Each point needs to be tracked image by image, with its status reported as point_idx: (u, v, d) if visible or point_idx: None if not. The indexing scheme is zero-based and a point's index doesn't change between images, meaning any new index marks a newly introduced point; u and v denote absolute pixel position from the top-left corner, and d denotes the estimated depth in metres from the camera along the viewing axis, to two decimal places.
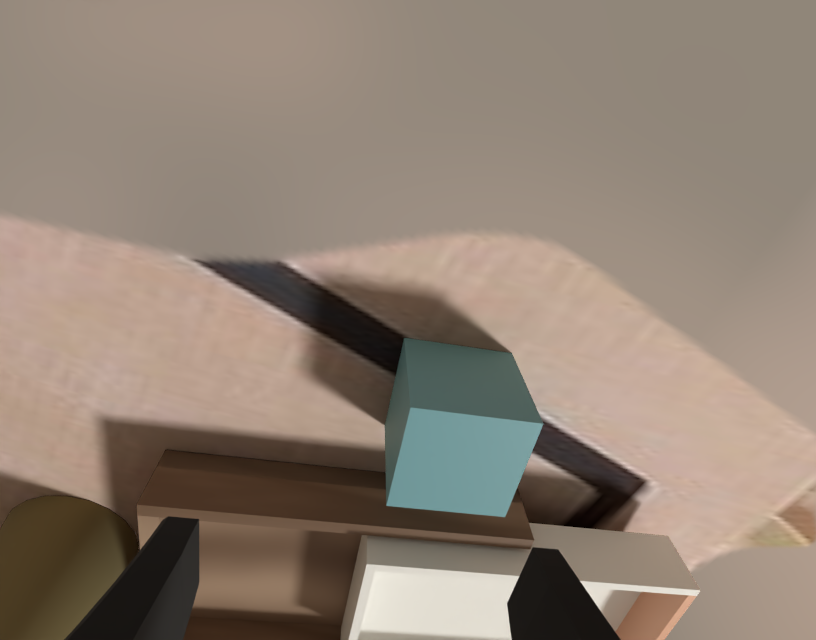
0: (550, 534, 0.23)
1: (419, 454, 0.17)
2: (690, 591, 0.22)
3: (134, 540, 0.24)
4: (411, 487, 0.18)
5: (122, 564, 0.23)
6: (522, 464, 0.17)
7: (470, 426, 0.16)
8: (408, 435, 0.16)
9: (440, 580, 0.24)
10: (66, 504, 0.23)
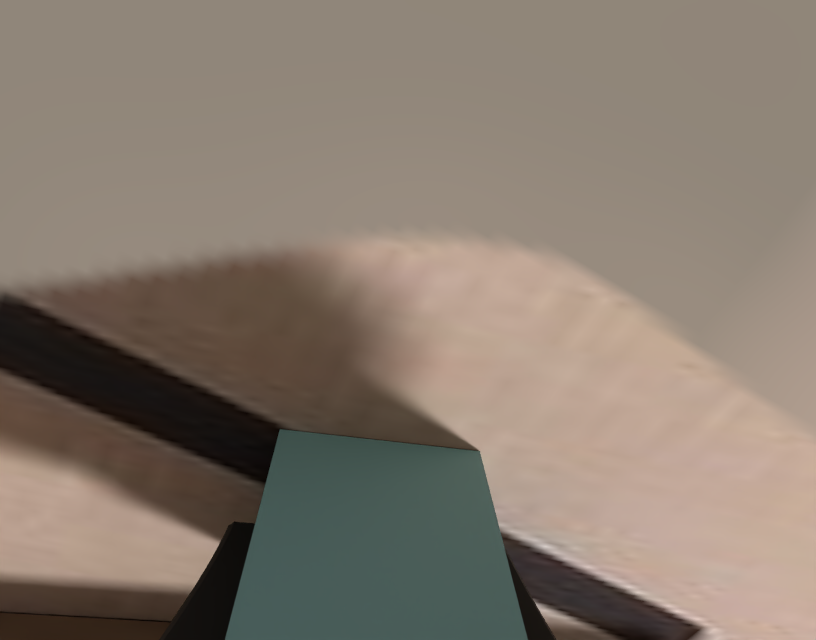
0: None
1: None
2: None
3: None
4: None
5: None
6: None
7: None
8: None
9: None
10: None
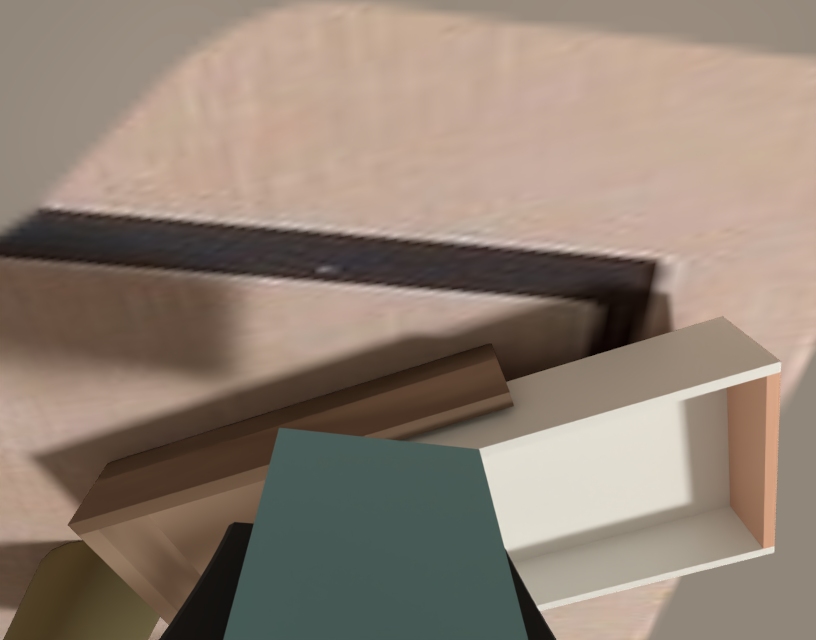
0: (547, 379, 0.17)
1: None
2: (766, 369, 0.15)
3: None
4: None
5: None
6: None
7: None
8: None
9: None
10: (67, 551, 0.22)
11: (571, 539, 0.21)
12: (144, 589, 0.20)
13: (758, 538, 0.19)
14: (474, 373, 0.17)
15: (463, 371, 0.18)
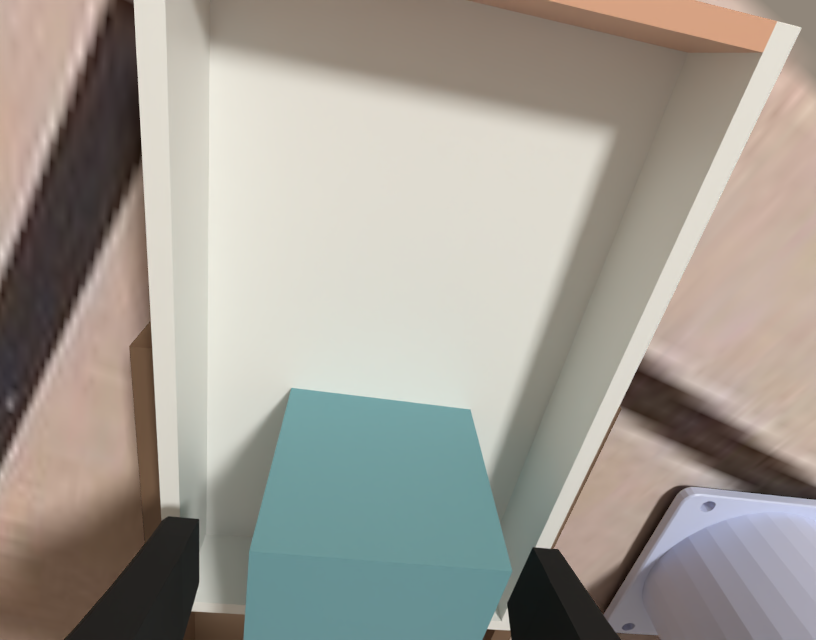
0: None
1: (283, 623, 0.09)
2: None
3: None
4: None
5: None
6: (477, 633, 0.10)
7: (374, 579, 0.09)
8: (255, 595, 0.09)
9: None
10: None
11: (547, 351, 0.12)
12: None
13: (734, 49, 0.07)
14: None
15: None
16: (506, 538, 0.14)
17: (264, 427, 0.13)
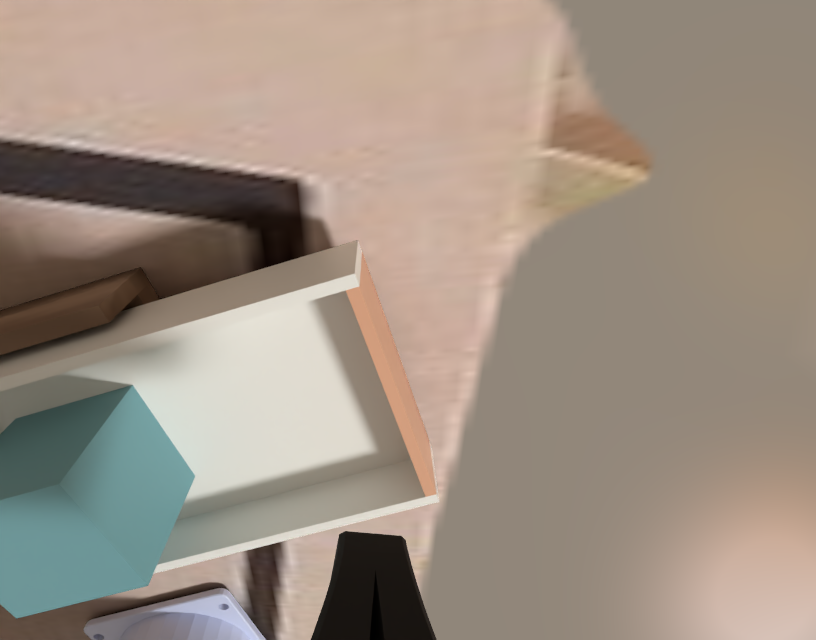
0: (171, 301, 0.16)
1: (10, 519, 0.14)
2: (343, 282, 0.14)
3: None
4: None
5: None
6: (90, 596, 0.15)
7: (88, 540, 0.14)
8: (24, 499, 0.13)
9: None
10: None
11: (258, 488, 0.20)
12: None
13: None
14: (95, 292, 0.16)
15: (90, 291, 0.16)
16: None
17: (88, 382, 0.17)
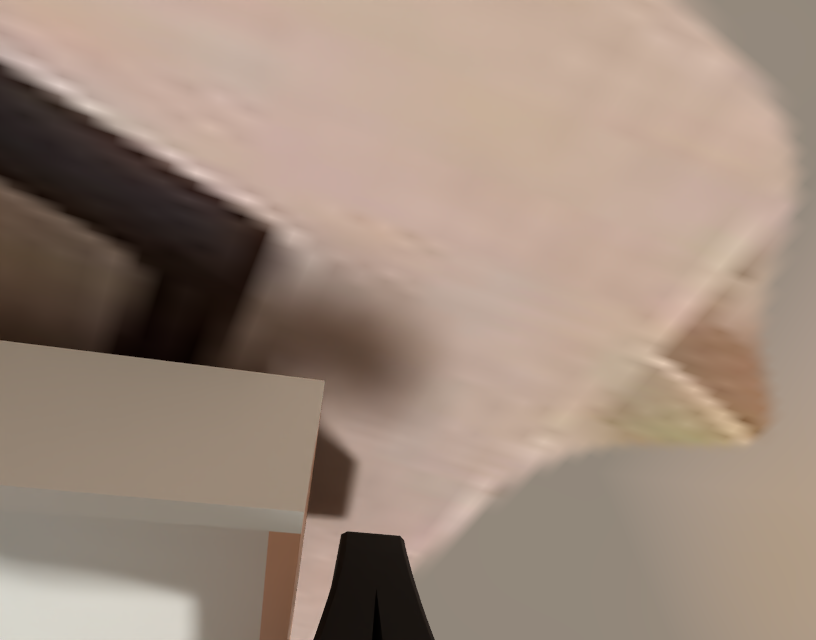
0: None
1: None
2: (272, 516, 0.06)
3: None
4: None
5: None
6: None
7: None
8: None
9: None
10: None
11: None
12: None
13: None
14: None
15: None
16: None
17: None
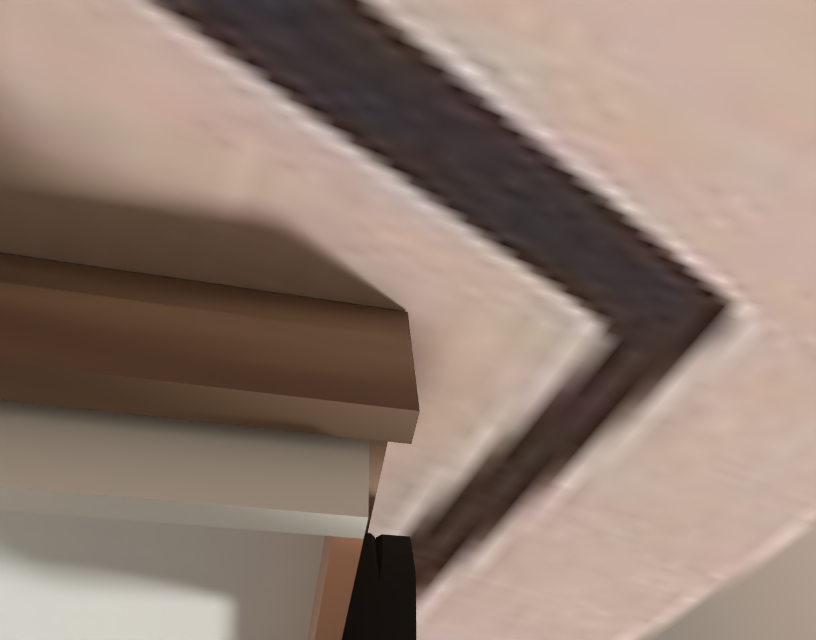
0: None
1: None
2: (336, 522, 0.06)
3: None
4: None
5: None
6: None
7: None
8: None
9: None
10: None
11: None
12: None
13: None
14: (358, 346, 0.08)
15: (337, 333, 0.08)
16: None
17: None
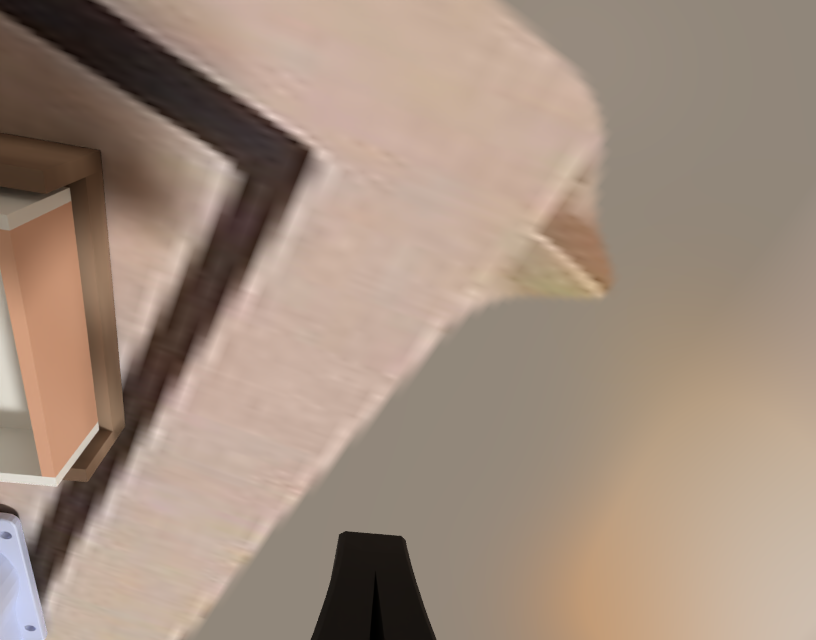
0: None
1: None
2: None
3: None
4: None
5: None
6: None
7: None
8: None
9: None
10: None
11: None
12: None
13: None
14: (39, 153, 0.14)
15: (32, 149, 0.14)
16: None
17: None
